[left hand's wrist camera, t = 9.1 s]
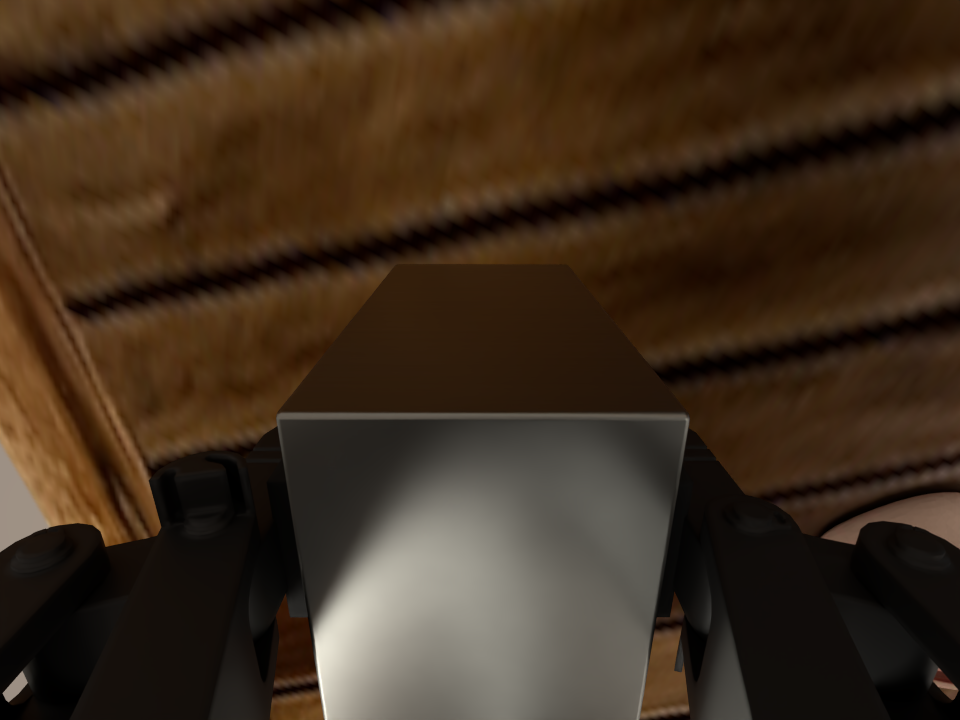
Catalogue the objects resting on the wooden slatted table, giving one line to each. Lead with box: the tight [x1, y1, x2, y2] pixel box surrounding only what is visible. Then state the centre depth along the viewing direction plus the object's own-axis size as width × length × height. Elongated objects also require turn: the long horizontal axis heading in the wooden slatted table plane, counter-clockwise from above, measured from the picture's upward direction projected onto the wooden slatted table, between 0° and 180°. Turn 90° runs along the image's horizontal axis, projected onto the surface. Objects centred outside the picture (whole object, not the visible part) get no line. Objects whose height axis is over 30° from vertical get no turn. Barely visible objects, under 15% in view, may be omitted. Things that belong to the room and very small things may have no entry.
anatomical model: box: [820, 492, 960, 690], centre depth 27 cm, size 13×4×12 cm
